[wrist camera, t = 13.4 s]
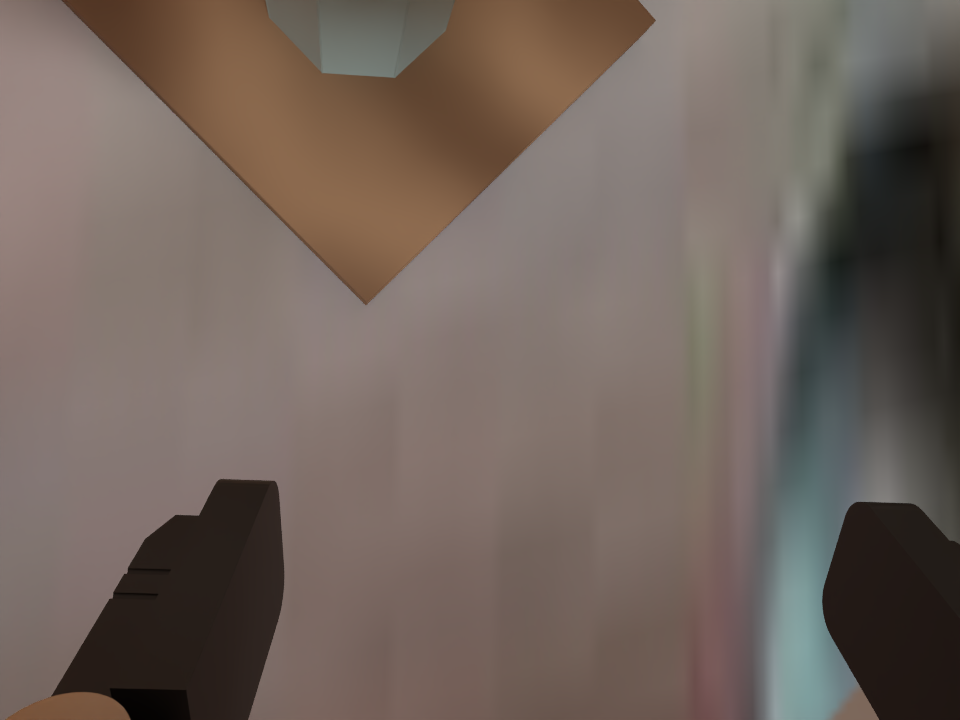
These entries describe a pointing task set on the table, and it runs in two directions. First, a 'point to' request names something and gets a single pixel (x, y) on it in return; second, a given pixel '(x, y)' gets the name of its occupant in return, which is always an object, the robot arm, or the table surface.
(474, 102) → the post stand
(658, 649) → the table surface
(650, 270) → the table surface
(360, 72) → the grey canister
